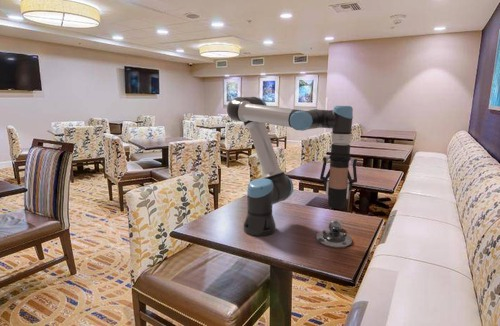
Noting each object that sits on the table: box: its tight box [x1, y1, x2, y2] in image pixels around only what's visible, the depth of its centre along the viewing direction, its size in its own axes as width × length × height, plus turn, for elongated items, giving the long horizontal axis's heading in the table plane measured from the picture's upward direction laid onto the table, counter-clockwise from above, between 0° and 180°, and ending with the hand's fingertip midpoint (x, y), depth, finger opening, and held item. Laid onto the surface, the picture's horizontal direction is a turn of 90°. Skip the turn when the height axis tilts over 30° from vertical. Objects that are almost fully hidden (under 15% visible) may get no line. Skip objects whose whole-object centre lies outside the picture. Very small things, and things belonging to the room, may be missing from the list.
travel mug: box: [327, 159, 350, 210], centre depth 134 cm, size 8×8×20 cm
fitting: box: [316, 218, 353, 249], centre depth 142 cm, size 15×22×6 cm
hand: (337, 196), depth 135 cm, fingers closed on travel mug, 8 cm apart
